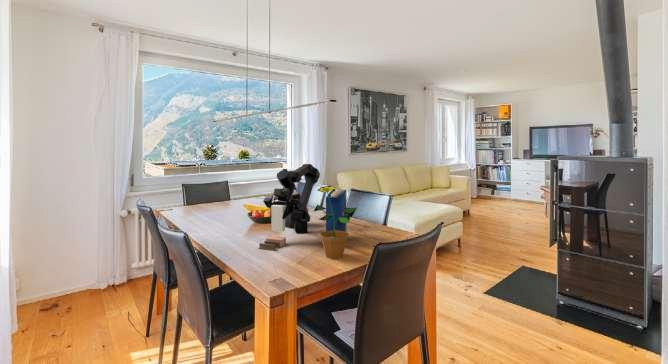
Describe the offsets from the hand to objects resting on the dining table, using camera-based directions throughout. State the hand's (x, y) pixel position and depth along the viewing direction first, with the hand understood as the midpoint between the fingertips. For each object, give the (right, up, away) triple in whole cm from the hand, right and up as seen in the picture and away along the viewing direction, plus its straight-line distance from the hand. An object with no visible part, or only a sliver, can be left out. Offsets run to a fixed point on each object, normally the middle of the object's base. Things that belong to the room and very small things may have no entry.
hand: (276, 218), depth 164 cm
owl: (+2, -9, +41) cm, 42 cm away
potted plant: (+27, -15, -14) cm, 34 cm away
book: (+28, -13, +10) cm, 32 cm away
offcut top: (0, -11, 0) cm, 11 cm away
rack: (-1, -14, -2) cm, 14 cm away
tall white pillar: (0, -6, +2) cm, 6 cm away
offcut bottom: (0, -13, +1) cm, 13 cm away
